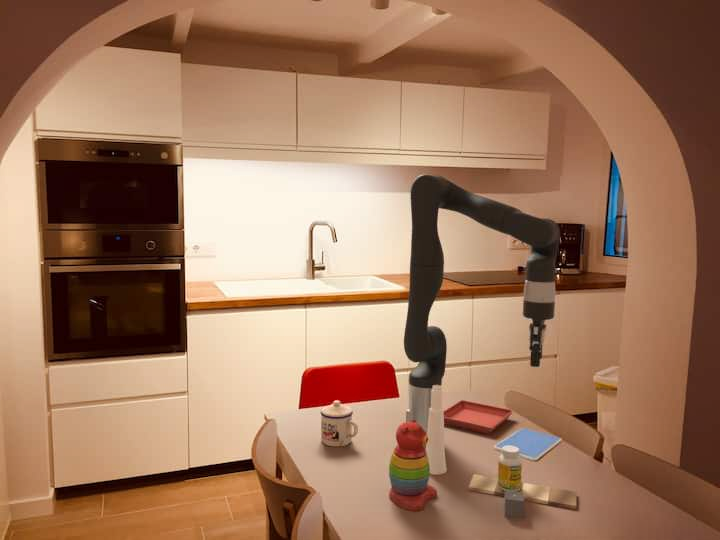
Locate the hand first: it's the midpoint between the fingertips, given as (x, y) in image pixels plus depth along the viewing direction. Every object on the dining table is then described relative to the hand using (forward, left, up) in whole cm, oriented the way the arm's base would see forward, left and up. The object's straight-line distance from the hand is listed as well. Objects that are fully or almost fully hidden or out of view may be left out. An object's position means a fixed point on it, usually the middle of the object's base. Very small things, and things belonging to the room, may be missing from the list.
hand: (536, 362), depth 148 cm
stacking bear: (-25, -26, -28) cm, 46 cm away
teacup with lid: (-52, -3, -28) cm, 59 cm away
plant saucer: (-19, +28, -29) cm, 44 cm away
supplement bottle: (-4, -14, -28) cm, 31 cm away
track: (-1, -14, -28) cm, 31 cm away
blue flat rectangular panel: (-2, +16, -29) cm, 33 cm away
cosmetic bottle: (-23, -10, -28) cm, 38 cm away
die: (-2, -24, -28) cm, 37 cm away
